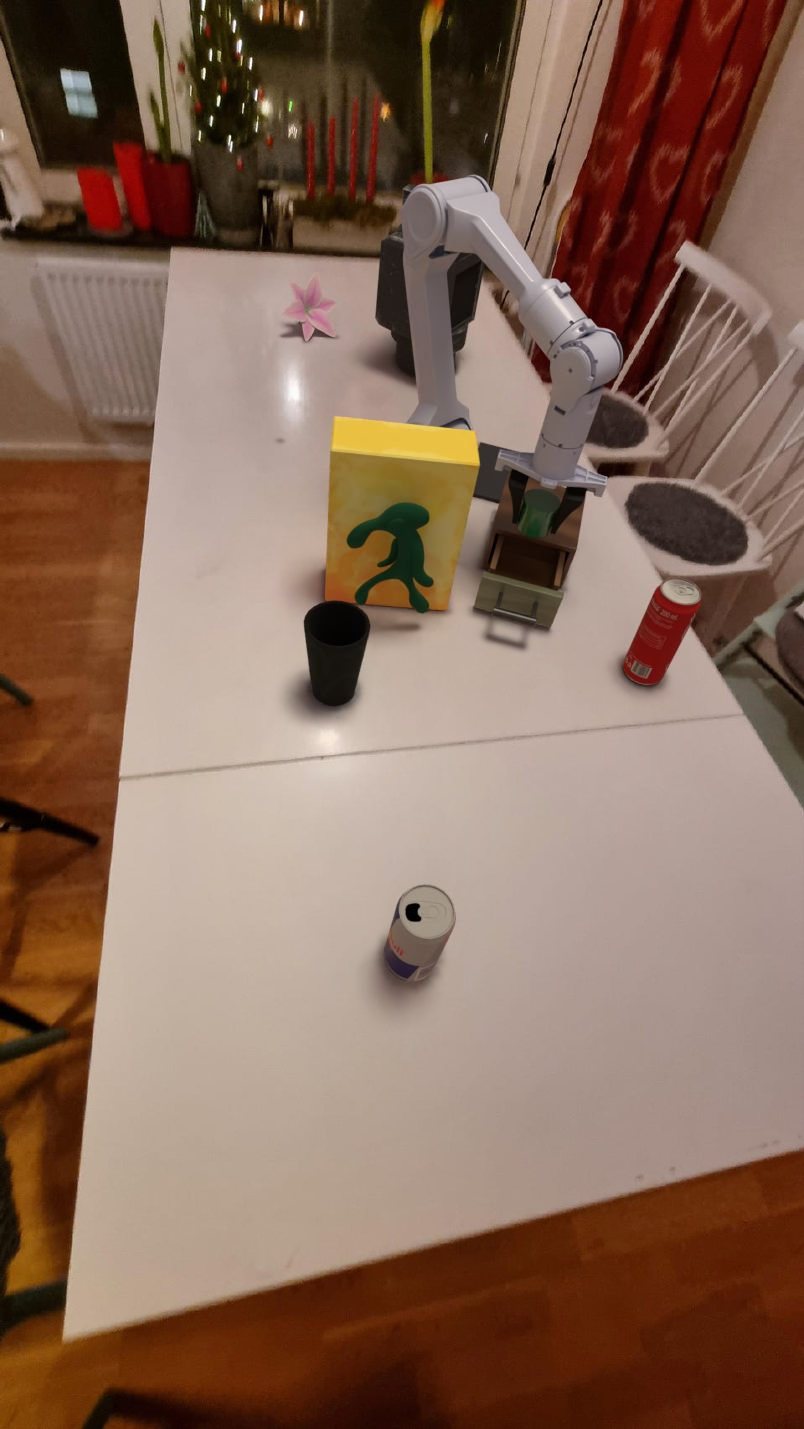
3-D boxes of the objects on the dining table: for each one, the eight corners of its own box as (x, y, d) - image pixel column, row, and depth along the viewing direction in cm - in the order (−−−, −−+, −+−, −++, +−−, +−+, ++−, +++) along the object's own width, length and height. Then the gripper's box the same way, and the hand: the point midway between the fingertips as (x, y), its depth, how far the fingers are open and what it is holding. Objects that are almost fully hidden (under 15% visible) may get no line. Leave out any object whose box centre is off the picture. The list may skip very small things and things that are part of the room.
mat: (462, 493, 118) (462, 490, 117) (479, 444, 128) (480, 442, 127) (554, 517, 117) (555, 514, 116) (564, 466, 126) (565, 463, 126)
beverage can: (662, 691, 96) (713, 613, 84) (615, 680, 96) (660, 601, 84) (661, 660, 99) (710, 581, 87) (616, 650, 99) (658, 569, 87)
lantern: (473, 364, 146) (506, 193, 122) (429, 396, 136) (456, 218, 112) (412, 339, 149) (433, 168, 126) (366, 368, 139) (379, 190, 116)
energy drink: (381, 930, 71) (394, 882, 61) (433, 928, 72) (453, 880, 62) (385, 984, 68) (399, 942, 58) (439, 981, 68) (461, 940, 59)
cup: (317, 720, 86) (319, 655, 76) (293, 676, 90) (293, 609, 80) (373, 701, 89) (382, 637, 79) (348, 659, 92) (353, 593, 83)
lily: (273, 343, 144) (288, 309, 135) (273, 296, 146) (288, 260, 138) (327, 361, 149) (345, 329, 141) (327, 315, 152) (344, 282, 144)
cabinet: (561, 588, 106) (576, 549, 100) (481, 567, 107) (492, 527, 101) (571, 532, 115) (586, 492, 109) (497, 512, 116) (508, 472, 110)
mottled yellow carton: (322, 628, 95) (327, 475, 76) (327, 567, 103) (333, 415, 84) (448, 637, 97) (483, 490, 78) (444, 577, 104) (476, 430, 85)
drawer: (546, 649, 97) (558, 620, 92) (467, 628, 97) (475, 597, 93) (561, 568, 107) (573, 538, 103) (490, 550, 108) (498, 519, 104)
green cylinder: (512, 533, 97) (520, 505, 93) (518, 511, 100) (526, 484, 96) (548, 543, 97) (558, 516, 93) (553, 521, 100) (563, 494, 96)
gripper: (501, 437, 85) (478, 527, 96) (617, 467, 84) (581, 555, 95) (510, 409, 89) (488, 499, 100) (621, 438, 88) (586, 525, 99)
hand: (533, 524), depth 98 cm, fingers closed on green cylinder, 5 cm apart
